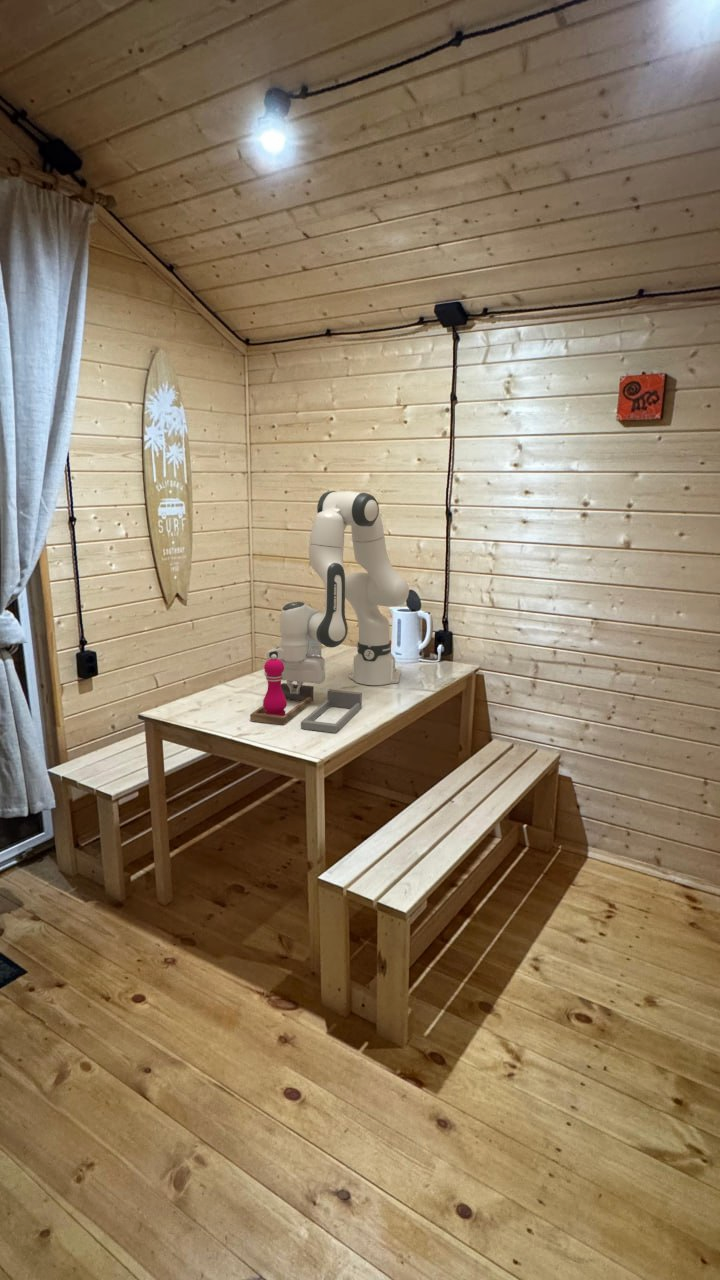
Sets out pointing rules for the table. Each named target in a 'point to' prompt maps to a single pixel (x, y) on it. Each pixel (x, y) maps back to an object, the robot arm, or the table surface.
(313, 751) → the table surface
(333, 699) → the grey open rectangular frame
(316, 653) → the snack box
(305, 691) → the brown wooden rectangular frame
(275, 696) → the pepper mill
